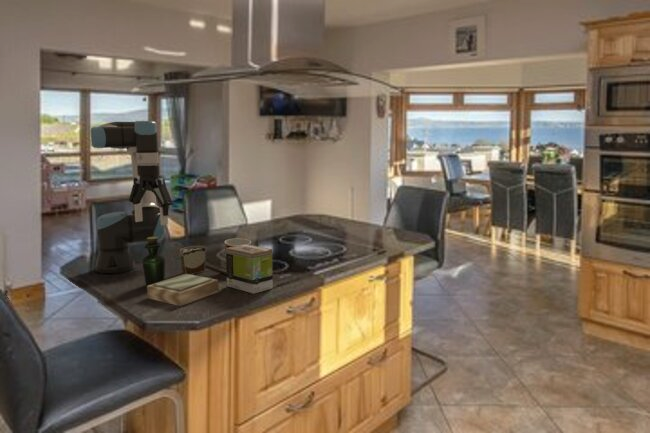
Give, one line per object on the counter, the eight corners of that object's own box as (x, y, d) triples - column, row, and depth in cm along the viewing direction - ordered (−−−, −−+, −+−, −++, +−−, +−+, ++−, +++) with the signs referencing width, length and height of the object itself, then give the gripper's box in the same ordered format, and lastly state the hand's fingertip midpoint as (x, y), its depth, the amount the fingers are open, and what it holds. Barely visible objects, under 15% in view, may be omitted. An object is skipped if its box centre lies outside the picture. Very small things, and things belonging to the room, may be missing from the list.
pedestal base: (147, 298, 189) (146, 284, 188) (186, 285, 204) (185, 272, 203) (180, 306, 180) (179, 291, 180) (218, 291, 196) (218, 278, 195)
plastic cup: (232, 274, 218) (231, 244, 216) (220, 268, 227) (219, 240, 225) (256, 270, 224) (256, 241, 222) (244, 264, 233) (243, 237, 231)
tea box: (274, 288, 199) (273, 248, 197) (252, 294, 192) (251, 253, 190) (247, 280, 209) (245, 242, 207) (226, 286, 202) (224, 247, 200)
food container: (198, 267, 229) (197, 244, 227) (207, 270, 225) (206, 246, 223) (173, 274, 219) (172, 249, 217) (182, 276, 215) (181, 251, 214)
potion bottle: (153, 281, 209) (150, 234, 206) (171, 283, 206) (168, 236, 203) (139, 287, 202) (135, 239, 199) (157, 289, 199) (154, 240, 196)
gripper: (116, 164, 200) (120, 221, 203) (164, 166, 187) (167, 227, 190) (133, 162, 206) (137, 218, 210) (180, 164, 193) (183, 224, 197)
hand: (151, 223), depth 200 cm, fingers open, 13 cm apart
